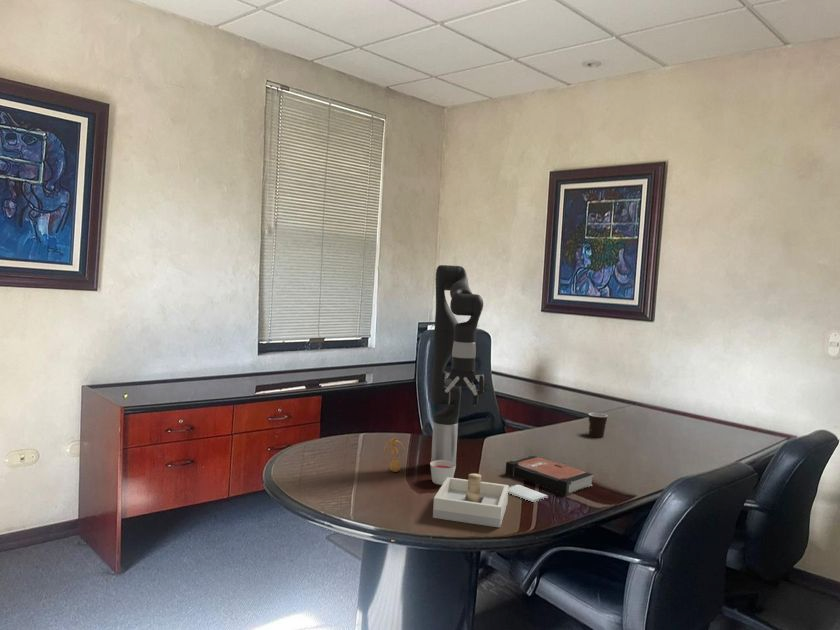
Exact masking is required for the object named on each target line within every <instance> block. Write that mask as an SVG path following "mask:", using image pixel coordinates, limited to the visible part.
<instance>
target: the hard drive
mask: <svg viewBox="0 0 840 630" xmlns="http://www.w3.org/2000/svg"><path fill="white" fill-rule="evenodd" d="M508 493H509V494H508V495H510V494H512V495H511V496H513V495H514V496H513V497H515V496H518V497H520V498H519V499H521V498H523V499H525V500H524V501H526V500H528V501H531V502H535V503H537V502H536V501H538V502H540V501H542V500H541V499H543V500H545V499H544V498H546V499H548V498H549V495H547V494H546V493H542V492H540V491H537V490H534V489H531V488H529V487H525V486H524V485H520V484H515V485H511V486H509V488H508ZM518 497H517V498H518ZM523 499H522V500H523ZM539 500H540V501H539ZM528 501H527V502H528ZM531 502H530V503H531Z"/></svg>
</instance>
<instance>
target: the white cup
mask: <svg viewBox="0 0 840 630" xmlns="http://www.w3.org/2000/svg"><path fill="white" fill-rule="evenodd" d="M429 466H430V473H431V480H432V482H433V483H434V484H435V485H439V486H442V485H443V483H444V482H445V480H446V479H447V477H450V478H454V475H455V473H456V472H455V471H456V469H457V468H456V467H457V463H456V464H455V463H453V462H450V461H444V460H437V461H432V462H431V461H430V462H429Z"/></svg>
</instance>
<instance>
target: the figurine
mask: <svg viewBox="0 0 840 630" xmlns="http://www.w3.org/2000/svg"><path fill="white" fill-rule="evenodd" d="M389 444H390V445H391V446H390V447H391V448H390V453H391V460H392V461H391V462H390V463H389V469H390V471H392V472H393V473H397V472H399V471H400V470H401V466H402V465H401V463H400V461H399V460H398V455H399V451H398V447H397V444H400V446H401V447H402V448H403V450H404V451H406V450H405V449H406V448H405V447H404V445H403V444H402V442H401V441H399V440H397V439H396V437H393V438H390V440H388V441H387V442H386V443H385V444H384V448H383V453H386V448H387V445H389ZM394 454H395V459H394Z"/></svg>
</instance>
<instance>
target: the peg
mask: <svg viewBox="0 0 840 630" xmlns="http://www.w3.org/2000/svg"><path fill="white" fill-rule="evenodd" d="M467 480H468V493H467V501H470V502H477V503H480V491H481V482H482V475H481V474H480V473H469V474H468V479H467Z"/></svg>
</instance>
